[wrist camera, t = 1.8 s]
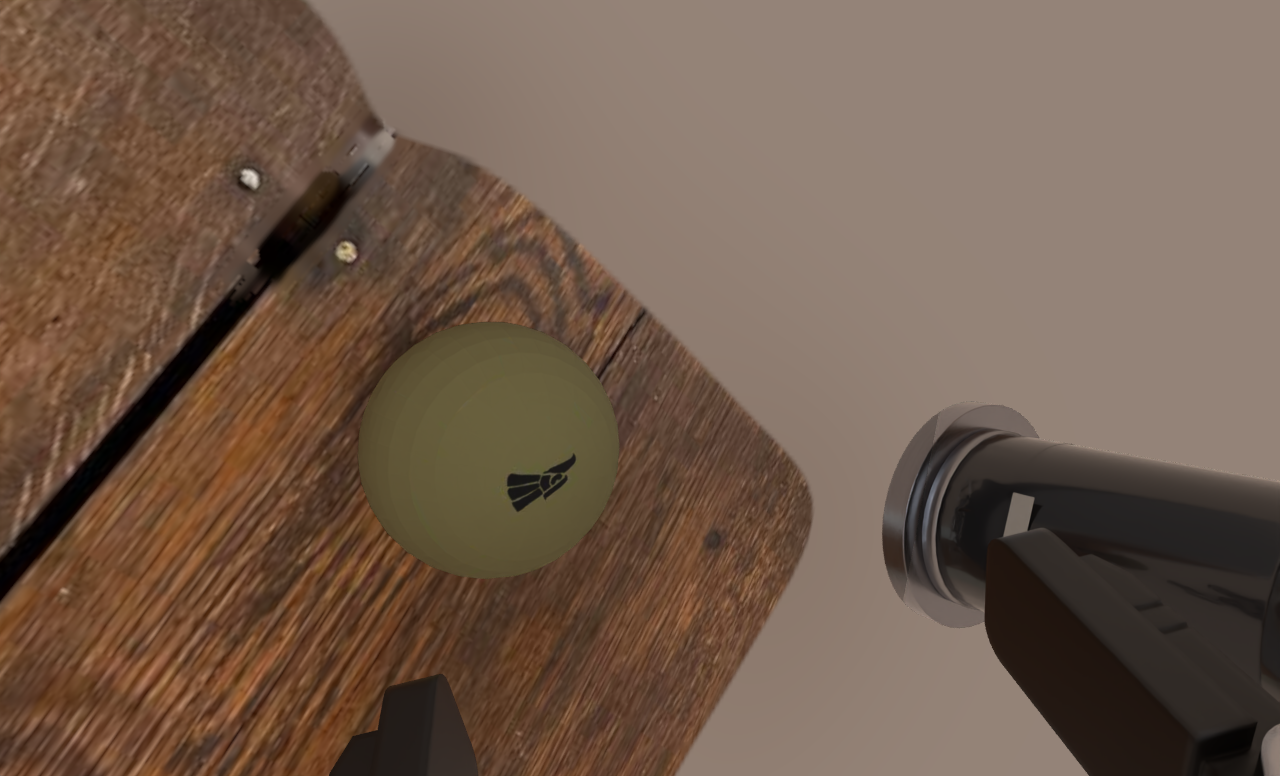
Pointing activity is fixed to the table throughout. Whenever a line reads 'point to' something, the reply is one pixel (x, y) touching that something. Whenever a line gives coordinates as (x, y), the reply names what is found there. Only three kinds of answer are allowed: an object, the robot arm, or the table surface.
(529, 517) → the light bulb
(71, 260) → the table surface
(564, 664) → the table surface
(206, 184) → the table surface
